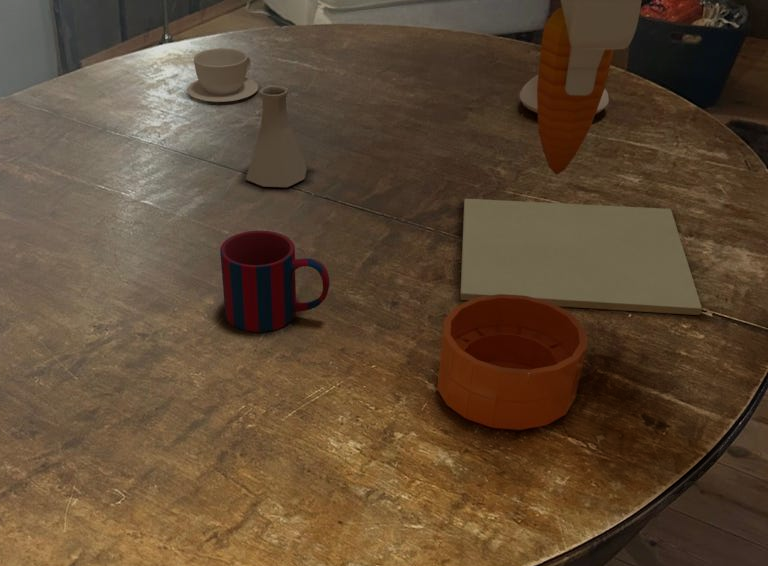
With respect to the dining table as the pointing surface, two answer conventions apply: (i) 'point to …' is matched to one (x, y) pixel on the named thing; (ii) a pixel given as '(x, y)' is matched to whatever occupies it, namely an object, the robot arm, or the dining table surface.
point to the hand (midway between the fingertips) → (573, 74)
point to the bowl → (510, 361)
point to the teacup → (222, 76)
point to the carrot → (564, 97)
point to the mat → (576, 256)
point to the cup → (263, 280)
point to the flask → (276, 144)
